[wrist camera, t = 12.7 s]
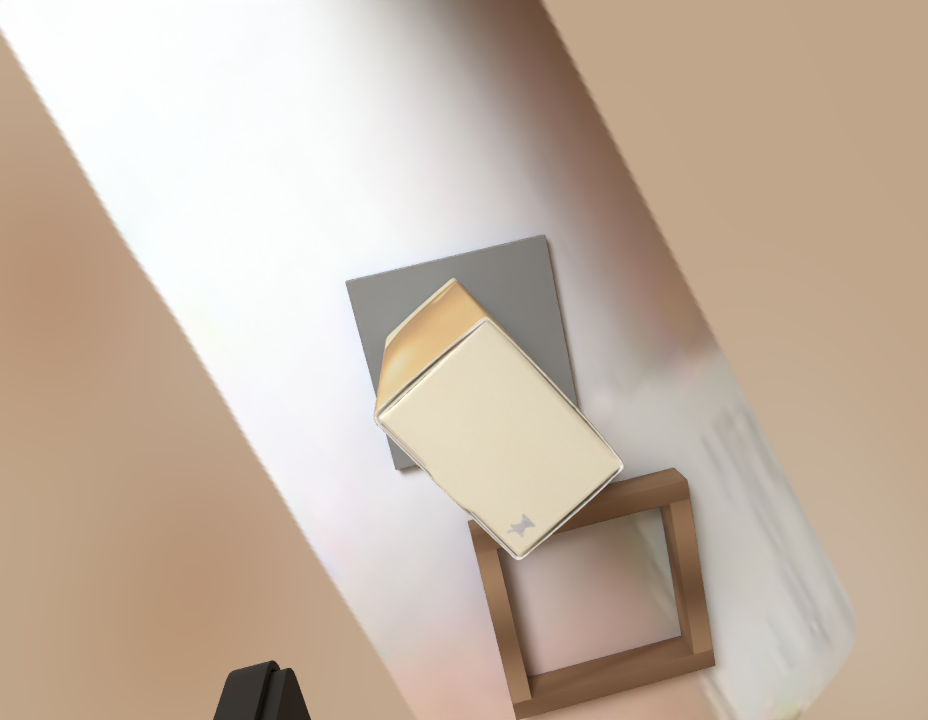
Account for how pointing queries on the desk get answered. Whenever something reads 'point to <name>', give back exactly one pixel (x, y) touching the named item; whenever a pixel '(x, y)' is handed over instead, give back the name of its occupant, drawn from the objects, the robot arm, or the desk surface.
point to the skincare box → (488, 422)
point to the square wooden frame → (628, 665)
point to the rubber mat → (492, 284)
